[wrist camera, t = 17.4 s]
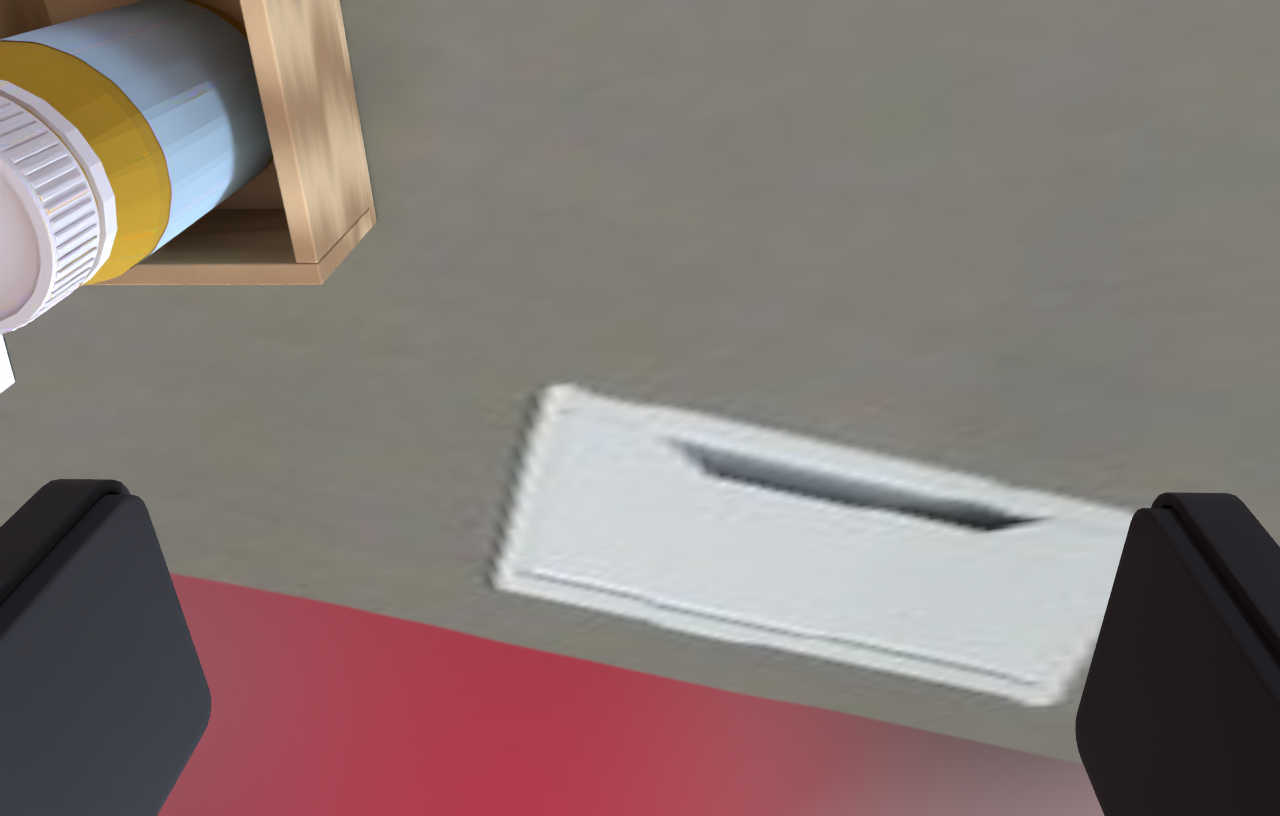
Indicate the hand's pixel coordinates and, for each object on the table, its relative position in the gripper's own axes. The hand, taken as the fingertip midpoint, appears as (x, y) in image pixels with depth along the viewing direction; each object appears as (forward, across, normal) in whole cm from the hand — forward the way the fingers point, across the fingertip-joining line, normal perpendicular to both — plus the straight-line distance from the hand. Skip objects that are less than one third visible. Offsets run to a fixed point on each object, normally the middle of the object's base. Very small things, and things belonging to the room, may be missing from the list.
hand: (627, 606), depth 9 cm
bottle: (+30, +18, +1) cm, 35 cm away
